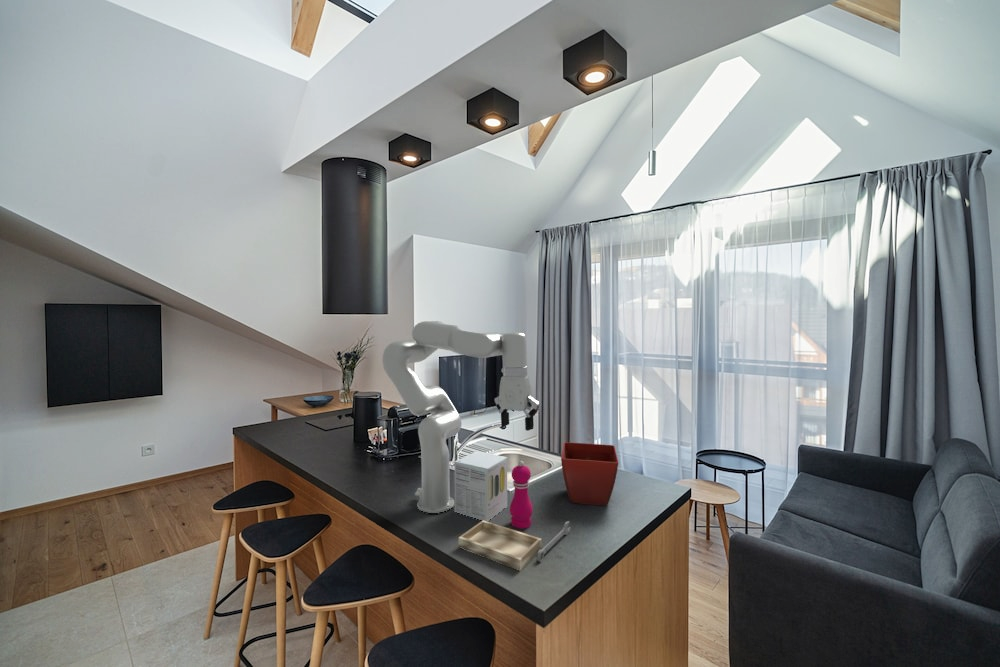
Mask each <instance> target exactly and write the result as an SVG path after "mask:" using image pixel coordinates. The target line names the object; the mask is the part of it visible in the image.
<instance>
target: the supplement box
mask: <svg viewBox="0 0 1000 667" xmlns="http://www.w3.org/2000/svg"><path fill="white" fill-rule="evenodd" d="M504 508H505V509H507V508H508V457H507V456H502V455H497V454H493V453H489V452H483V451H478V450H476V451H474V452H472V453H470V454H468V455H465V456H464V457H461V458H459V459H457V460H455V461H454V513H455V512H457V513H460V514H459V515H461V514H463V515H462V516H464V515H466V516H465V517H467V516H470V517H473V518H472V519H474V518H476V519H475V520H477V519H479V520H478V521H480V520H484V521H487V522H489V521H491V520H492V519H493V518H495V517H496V516H497V515H499V514H500V513H501V512H503V511H504V510H505V509H504ZM503 509H504V510H503ZM499 512H500V513H499ZM457 513H456V514H457ZM498 513H499V514H498ZM495 515H496V516H495ZM494 516H495V517H494ZM470 517H469V518H470ZM490 519H491V520H490Z"/></svg>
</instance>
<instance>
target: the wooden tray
mask: <svg viewBox="0 0 1000 667" xmlns="http://www.w3.org/2000/svg"><path fill="white" fill-rule="evenodd" d="M542 540H543V539H542V538H540V537H537V536H534V535H531V534H528V533H525V532H522V531H518V530H515V529H512V528H510V527H506V526H503V525H499V524H496V523H493V522H489V521H488V522H487V521H484V520H482V521H479V523H477V524H475V525H474V526H473V527H471V528H470V529H469V530H467V531H466V532H465V533H463V534H461V535H460V536H458V548H459V547H462V548H464V549H466V550H469V551H472V552H474V553H476V554H479V555H481V556H484V557H486V558H489V559H492V560H494V561H497V562H499V563H502V564H504V565H503V566H505V565H506V566H505V567H507V566H509V567H508V568H510V567H512V568H511V569H513V568H514V569H513V570H515V569H516V570H515V571H518V570H519V571H518V572H521V571H522V570H523V569H524V568H525V567H526V566H527V565H528V564H529V563H530V562H531V561H532V560H533V559H534V558H535V557H537V553H538V551H539V550H541V549H542V544H543V543H542ZM476 554H475V555H476ZM481 556H480V557H481ZM486 558H485V559H486ZM489 559H488V560H489ZM494 561H493V562H494ZM497 562H496V563H497ZM499 563H498V564H499ZM502 564H501V565H502Z"/></svg>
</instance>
